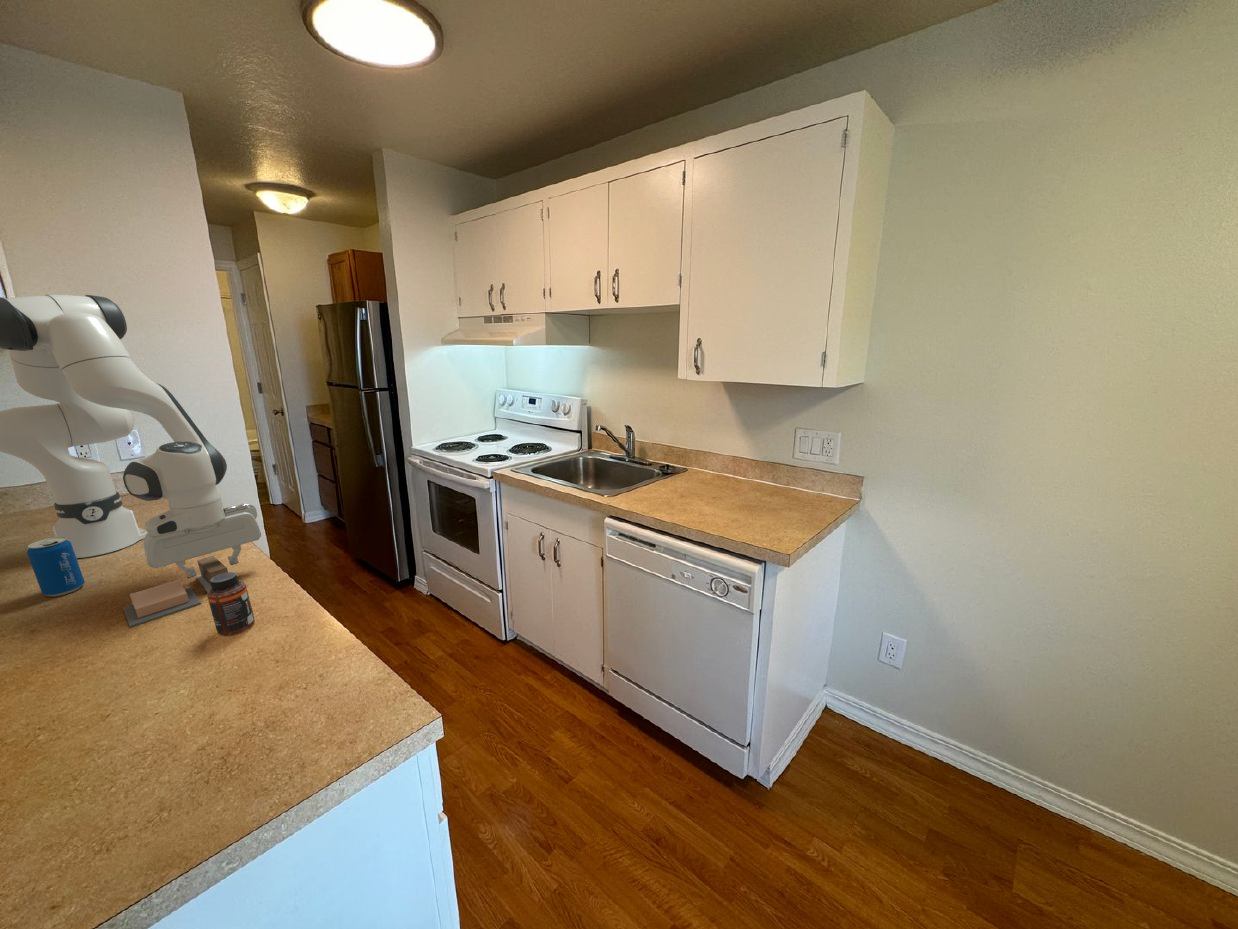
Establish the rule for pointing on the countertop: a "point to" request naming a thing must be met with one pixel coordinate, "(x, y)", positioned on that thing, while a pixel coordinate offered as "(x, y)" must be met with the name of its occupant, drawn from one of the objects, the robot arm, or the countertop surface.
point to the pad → (204, 583)
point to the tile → (159, 598)
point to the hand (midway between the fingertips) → (213, 569)
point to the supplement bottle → (230, 604)
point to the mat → (135, 621)
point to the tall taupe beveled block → (211, 568)
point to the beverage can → (55, 566)
